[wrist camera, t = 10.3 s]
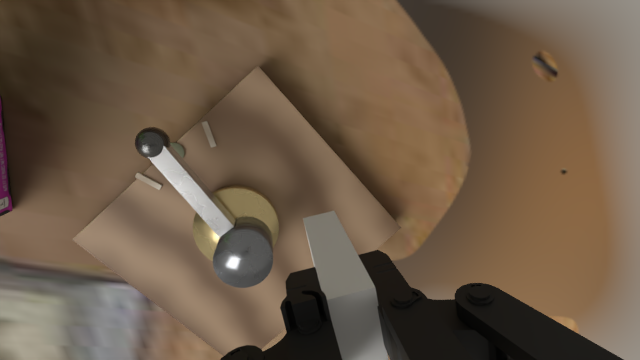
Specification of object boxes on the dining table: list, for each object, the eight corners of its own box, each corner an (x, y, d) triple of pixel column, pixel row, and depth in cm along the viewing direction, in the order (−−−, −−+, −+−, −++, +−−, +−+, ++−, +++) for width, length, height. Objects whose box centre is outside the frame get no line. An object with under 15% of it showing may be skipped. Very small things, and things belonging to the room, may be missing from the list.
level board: (240, 354, 41) (239, 369, 39) (79, 229, 35) (67, 238, 32) (394, 220, 39) (401, 228, 37) (255, 63, 33) (254, 62, 31)
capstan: (294, 230, 35) (298, 255, 30) (231, 275, 36) (224, 308, 30) (189, 99, 31) (172, 102, 25) (118, 152, 31) (86, 165, 26)
